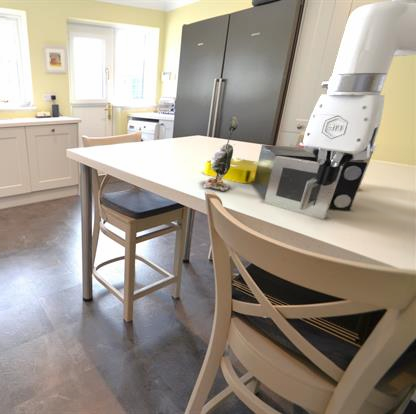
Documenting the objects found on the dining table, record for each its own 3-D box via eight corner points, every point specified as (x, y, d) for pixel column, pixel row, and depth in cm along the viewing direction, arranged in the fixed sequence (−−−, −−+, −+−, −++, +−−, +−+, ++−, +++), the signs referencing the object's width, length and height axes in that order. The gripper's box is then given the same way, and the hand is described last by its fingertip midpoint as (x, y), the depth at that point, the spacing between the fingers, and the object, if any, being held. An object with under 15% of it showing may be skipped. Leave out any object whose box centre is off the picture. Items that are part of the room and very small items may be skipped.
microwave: (351, 213, 66) (370, 162, 62) (266, 204, 70) (278, 156, 66) (321, 191, 81) (335, 149, 76) (252, 185, 85) (261, 144, 80)
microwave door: (313, 226, 58) (331, 171, 54) (252, 208, 67) (263, 159, 63) (325, 217, 63) (343, 166, 58) (266, 201, 72) (278, 155, 68)
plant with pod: (235, 184, 85) (249, 115, 77) (223, 194, 77) (238, 117, 69) (208, 179, 90) (219, 113, 82) (194, 188, 81) (205, 115, 74)
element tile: (201, 174, 95) (203, 160, 94) (223, 167, 105) (225, 154, 103) (246, 184, 85) (249, 169, 83) (265, 176, 94) (269, 162, 93)
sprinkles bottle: (335, 187, 85) (351, 141, 80) (347, 186, 86) (363, 141, 81) (351, 192, 81) (368, 144, 75) (363, 191, 82) (381, 144, 76)
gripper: (299, 86, 55) (277, 177, 62) (402, 85, 43) (360, 198, 50) (319, 87, 59) (296, 173, 65) (420, 86, 46) (378, 191, 53)
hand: (324, 183), depth 58 cm, fingers closed
